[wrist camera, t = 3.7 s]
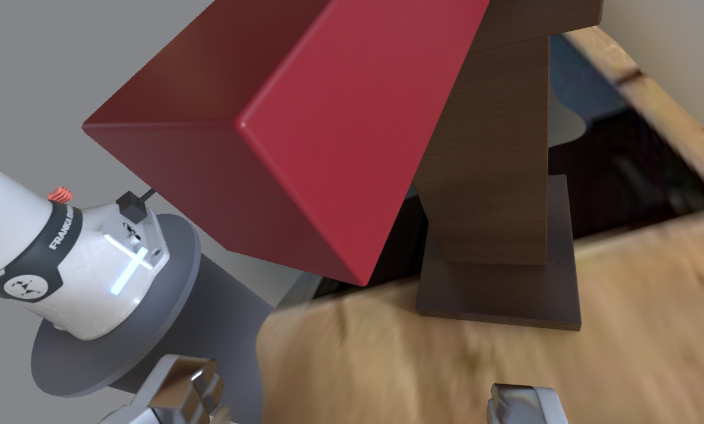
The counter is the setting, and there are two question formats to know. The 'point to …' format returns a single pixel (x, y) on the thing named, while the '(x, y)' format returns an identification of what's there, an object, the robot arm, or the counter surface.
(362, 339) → the counter surface
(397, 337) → the counter surface
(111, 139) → the maroon rod
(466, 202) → the shelf stand
